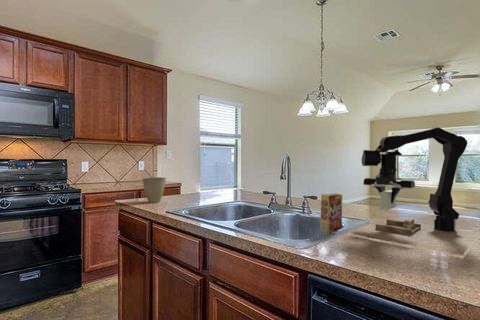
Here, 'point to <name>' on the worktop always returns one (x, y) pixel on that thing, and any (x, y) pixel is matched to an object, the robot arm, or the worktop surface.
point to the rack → (397, 227)
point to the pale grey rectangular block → (386, 200)
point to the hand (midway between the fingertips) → (387, 203)
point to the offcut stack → (409, 224)
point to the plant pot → (154, 188)
